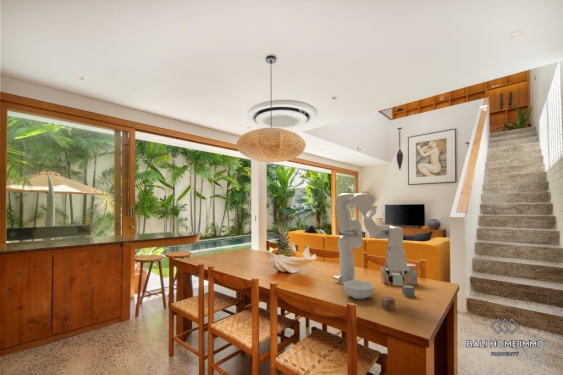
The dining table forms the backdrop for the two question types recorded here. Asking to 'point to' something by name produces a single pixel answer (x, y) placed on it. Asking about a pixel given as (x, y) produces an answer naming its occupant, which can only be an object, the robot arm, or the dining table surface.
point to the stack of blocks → (408, 278)
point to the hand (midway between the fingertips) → (396, 282)
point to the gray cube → (408, 291)
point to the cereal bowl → (358, 289)
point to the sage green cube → (397, 279)
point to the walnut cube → (388, 303)
